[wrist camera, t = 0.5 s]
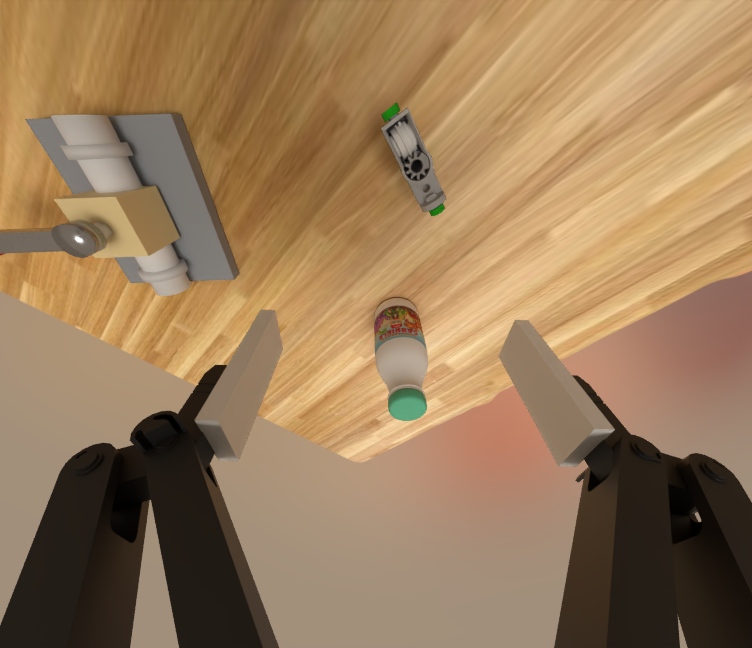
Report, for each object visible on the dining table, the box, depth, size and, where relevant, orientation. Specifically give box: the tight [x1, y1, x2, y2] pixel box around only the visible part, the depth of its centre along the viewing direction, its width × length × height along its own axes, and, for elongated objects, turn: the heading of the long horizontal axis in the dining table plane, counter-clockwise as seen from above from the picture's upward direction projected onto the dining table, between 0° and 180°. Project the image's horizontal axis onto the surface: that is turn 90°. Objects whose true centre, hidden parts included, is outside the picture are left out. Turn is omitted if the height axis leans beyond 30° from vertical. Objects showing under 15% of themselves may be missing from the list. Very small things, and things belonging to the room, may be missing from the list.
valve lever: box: [0, 220, 107, 258], centre depth 27 cm, size 17×3×2 cm, turn 92°
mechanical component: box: [381, 103, 446, 216], centre depth 29 cm, size 3×10×10 cm, turn 33°
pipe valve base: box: [25, 113, 239, 296], centre depth 32 cm, size 20×16×11 cm
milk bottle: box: [374, 298, 428, 421], centre depth 40 cm, size 8×8×20 cm
